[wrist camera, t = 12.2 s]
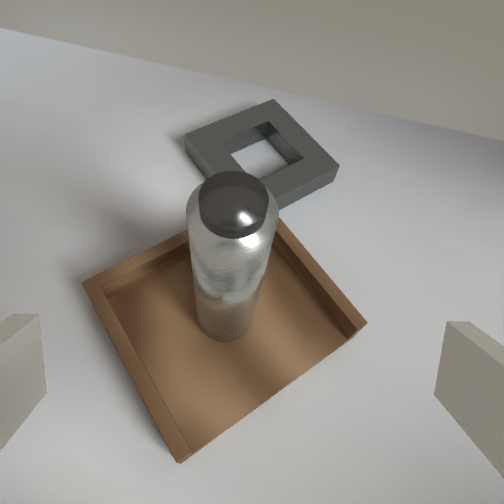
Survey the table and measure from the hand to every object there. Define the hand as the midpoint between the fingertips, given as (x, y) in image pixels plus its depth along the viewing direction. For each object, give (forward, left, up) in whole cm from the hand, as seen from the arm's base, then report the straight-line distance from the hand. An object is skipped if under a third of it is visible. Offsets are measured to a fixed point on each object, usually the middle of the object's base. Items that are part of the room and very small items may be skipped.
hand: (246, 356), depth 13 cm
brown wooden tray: (-4, -7, -18) cm, 19 cm away
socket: (-16, -19, -18) cm, 30 cm away
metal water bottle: (-4, -7, -17) cm, 18 cm away
